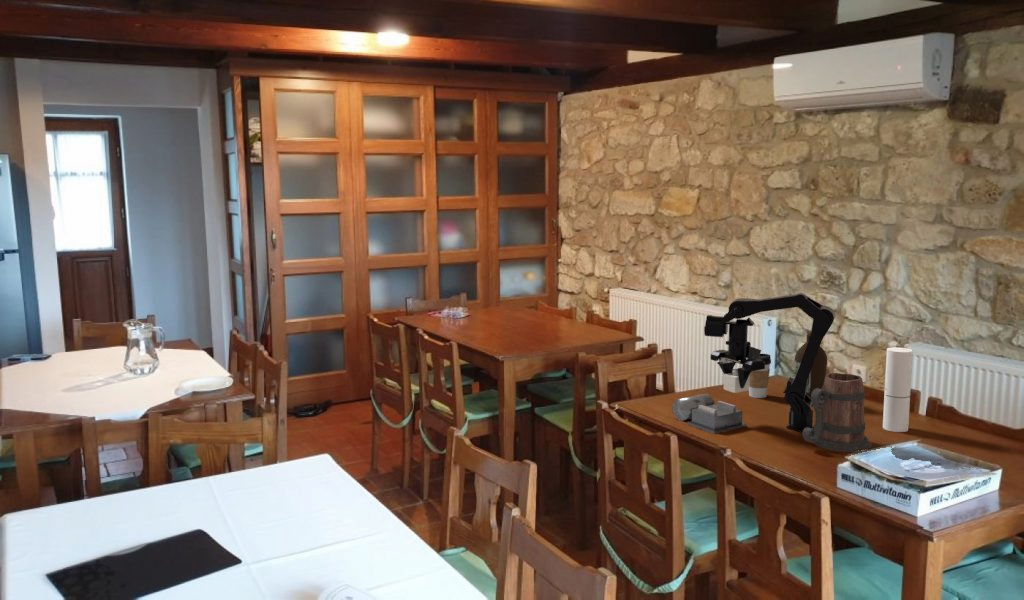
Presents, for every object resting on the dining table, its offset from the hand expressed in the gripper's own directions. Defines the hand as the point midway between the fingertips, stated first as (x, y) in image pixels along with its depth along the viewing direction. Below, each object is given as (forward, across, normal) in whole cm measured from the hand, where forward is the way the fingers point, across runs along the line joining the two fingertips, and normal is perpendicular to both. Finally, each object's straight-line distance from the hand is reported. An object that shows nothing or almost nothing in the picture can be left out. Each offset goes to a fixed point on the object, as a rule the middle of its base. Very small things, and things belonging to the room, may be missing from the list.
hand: (736, 386), depth 258 cm
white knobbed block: (+1, 0, 0) cm, 1 cm away
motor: (+12, +4, +8) cm, 15 cm away
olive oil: (+12, +4, -38) cm, 40 cm away
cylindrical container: (+11, -31, -36) cm, 49 cm away
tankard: (+12, -31, -8) cm, 34 cm away
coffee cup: (+12, +18, -29) cm, 36 cm away
